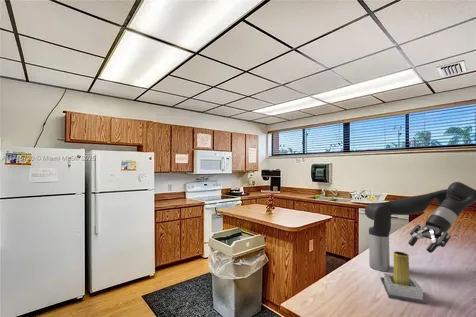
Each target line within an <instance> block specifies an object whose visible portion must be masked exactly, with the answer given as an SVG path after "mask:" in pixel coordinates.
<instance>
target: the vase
mask: <svg viewBox="0 0 476 317" xmlns="http://www.w3.org/2000/svg"><path fill="white" fill-rule="evenodd" d="M409 258H410V257H409V254H408V253H407V252H403V251H398V250H397V251H394V252H393V274H392V275H393V284H399V285H406V286H410V277H411V274H410V261H409V260H410V259H409Z"/></svg>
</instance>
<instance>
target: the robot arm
mask: <svg viewBox="0 0 476 317" xmlns="http://www.w3.org/2000/svg"><path fill="white" fill-rule="evenodd" d="M434 200H435V202H436V203H437V205H438V207H437V208H436V209H434V211H433V212H432V213H431V214H430V216H429V217H428V218H427V219H426V221H425V225H424V226H420V224H416V225H415V226H414V227H413V228H412V230H410V232H409V235H410V236H411V238H409V240H408V245H409V246H411V247H414V245H416V243H417V242H418V240H420V239H428V240H431V241H432V242H430V243H429V244H428V246H427V247H426V251H427V253H430V254H432V253H433V252H434V251H435V250H436V249H437V248H439V247H441V248H444V247H445V246H446V245H447V244H448V242H449V240H450V239H451V237H452V236H451V235H450V234H449V232H448V231H449V230H450V228H451V227H452V225H454V224H455V222H456V220H457V219H458V217H459V216H460V214H461V213H462V212H463V211H464V210H465V209H467V207H468V208H469V206H471V205H473V204H475V203H476V189H475V188H472V187H471V186H468V185H467V184H465V183H463V182H460V181H454V182H451V184H449V186H448V187H447V188H446V189H445V188H444V189H441V190H437V191H434V192H428V193H426V194H425V193H424V194H419V195H412V196H407V197H403V198H399V199H393V200H390V201H386V202H385V201H384V202H373V203H369V204H368V205H366V207H365V208H364V214H365V216H366V217H367V218H368V219H369V220H372V221H373V226H370V227H369V228H368V252H369V253H368V259H369V261H368V262H369V267H370V268H371V269H374V270H376V271H380V272H388V271H390V270H391V267H390V266H391V263H390V262H391V261H390V260H391V259H390V232H391V229H392V216H393V215H394V216H410V215H416V214H420V213H423V212H425V211H426V210H427V209H428V207H429V206H430V205H431V202H433V201H434Z"/></svg>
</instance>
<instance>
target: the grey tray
mask: <svg viewBox="0 0 476 317" xmlns="http://www.w3.org/2000/svg"><path fill="white" fill-rule="evenodd" d="M393 275H394V274H392V273H391V274H390V273H383V276H380V282H381V283H383V284H382V286H383V285H384V286H383V288H384V291H385V292H387V293H386V295H387V297H388V299H394V300H400V301H401V300H402V301H406V302H412V303H416V304H417V303H418V304H422V305H423V304H424V305H425V304H426V301H425V299H424V296H423V294H424V293H423V288H422V287H421V285H420V284H419V283H418V282H417V280H416V279H415V278H414V277H412V276H410V286H406V285H399V284H393Z"/></svg>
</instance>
